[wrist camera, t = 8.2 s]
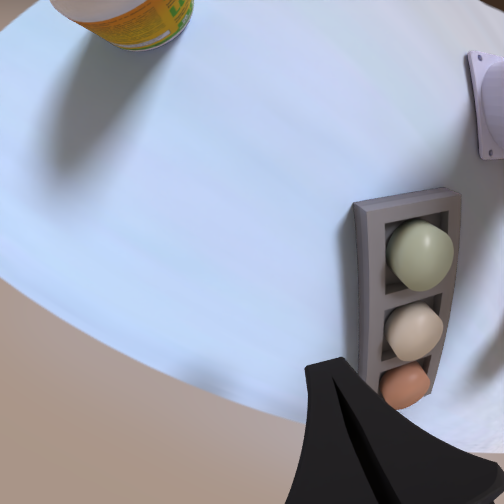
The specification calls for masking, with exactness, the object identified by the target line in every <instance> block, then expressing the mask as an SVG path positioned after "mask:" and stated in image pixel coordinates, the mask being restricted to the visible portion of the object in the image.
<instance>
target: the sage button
mask: <svg viewBox="0 0 504 504" xmlns="http://www.w3.org/2000/svg"><path fill="white" fill-rule="evenodd" d="M453 256H454V247H453V243H452V240H451V238H450V237H449V236H448V235H447V234H446V233H445V232H443V231H442V230H440V229H439V228H437V227H435V226H434V225H432V224H431V223H429V222H427V221H425V220H423V219H412V220H409V221H406V222H405V223H403V224H402V225H400V226H399V227H398V228H397V229H396V230H395V232H394V233H393V234H392V236H391V238H390V240H389V242H388V246H387V250H386V259H387V263H388V266H389V268H390V269H391V271H392V272H393V273H394V274H395V275H396V276H397V277H398V278H399V279H400V280H401V281H402V282H403V283H404V284H405V285H406V286H407V287H408V288H409V289H411V290H413V291H419V292H420V291H426V290H429V289H431V288H433V287H435V286H436V285H437V284H439V283H440V282H441V281H442V280H443V278H444V277H445V276H446V274H447V273H448V271H449V269H450V267H451V264H452V261H453Z"/></svg>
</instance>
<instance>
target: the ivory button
mask: <svg viewBox="0 0 504 504" xmlns="http://www.w3.org/2000/svg"><path fill="white" fill-rule="evenodd" d="M442 332H443V322H442V320H441V319H440V318H439V316H438V315H437V314H436V313H435V312H434V311H433V310H432V309H431V308H430V307H429V306H428V305H427V303H425V302H424V301H422V300H418V301H414V302H411V303H408V304H405V305H401V306H399V307H398V308H397V309H395V310H394V311H393V312H392V314H391V315H390V316H389V318H388V320H387V322H386V324H385V327H384V336H385V338H386V340H387V341H388V343H389V345H390V346H391V348H392V349H393V351H394V352H395V354H396V356H397V357H398V358H399V359H400V360H403V361H413V360H417V359H419V358H421V357H423V356H424V355H426V354H427V353H429V352H430V351H431V350H432V349H433V348H434V347H435V346H436V344H437V343H438V341H439V340H440V338H441V335H442Z"/></svg>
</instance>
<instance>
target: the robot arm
mask: <svg viewBox="0 0 504 504" xmlns="http://www.w3.org/2000/svg"><path fill="white" fill-rule="evenodd" d="M478 58H479V60H478ZM468 61H469V66H470V71H471V77H472V83H473V90H474V97H475V105H476V114H477V125H478V138H479V154H480V157H481V158H482V159H484V160H494V159H504V57H501V56H497V55H492V54H488V53H483V52H478V51H469V52H468ZM489 151H490V153H489ZM304 369H305V376H306V384H307V391H308V408H307V421H306V428H305V435H304V441H303V446H302V451H301V456H300V460H299V463H298V467H297V471H296V474H295V477H294V480H293V483H292V486H291V489H290V492H289V494H288V497H287V500H286V502H285V504H495V503H494V500H495V499H496V498H497V497H498V496H499V495H500V494H501V493H503V492H504V471H503V470H502V469H501V467H500V466H499V465H498V464H497V463H496V462H493V461H489V460H487V459H483V458H480V457H478V456H475V455H472V454H470V453H467V452H465V451H462V450H460V449H458V448H456V447H454V446H452V445H450V444H448V443H446V442H444V441H442V440H440V439H438V438H436V437H434V436H432V435H431V434H429V433H428V432H426V431H424V430H423V429H421V428H420V427H418V426H417V425H415V424H414V423H412V422H411V421H409V420H408V419H407V418H405V417H404V416H403V415H401V414H400V413H399V412H398V411H396V410H395V409H394V408H393V407H391V406H390V405H389V404H388V403H387V402H386V401H384V400H383V399H382V398H381V397H380V396H379V395H378V394H377V393H376V392H375V391H374V390H373V389H372V388H371V387H370V386H369V385H368V384H367V383H366V382H365V381H364V380H363V379H362V378H361V377H360V376H359V375H358V374H357V373H356V372H355V371H354V369H353V368H352V367H351V366H350V365H349V363H348V362H347V361H346V360H345V358H343V357H339V358H335V359H331V360H327V361H323V362H319V363H315V364H311V365H307V366H306V367H305V368H304Z"/></svg>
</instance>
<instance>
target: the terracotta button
mask: <svg viewBox="0 0 504 504" xmlns="http://www.w3.org/2000/svg"><path fill="white" fill-rule="evenodd" d="M429 386H430V379H429V378H428V376H427V375H426V373H425V372H424V370H423V369H422V367H421V366H420V364H419V363H418V362H417V361H413V362H410V363H407V364H404V365H401V366H399V367H396V368H393V369H390V370H388V371H387V372H386V373H385V374H384V375H383V377H382V378H381V380H380V383H379V389H380V391H381V393H382V395H383V397H384V399H385V401H386V402H387V403H388V404H389V405H390V406H391V407H393V408H394V409H395V410H399V409H403V408H406V407H409V406H411V405H412V404H414V403H416V402H417V401H418V400H420V399H421V398H422V397H423V396H424V395H425V393H426V392H427V391H428V389H429Z"/></svg>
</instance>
